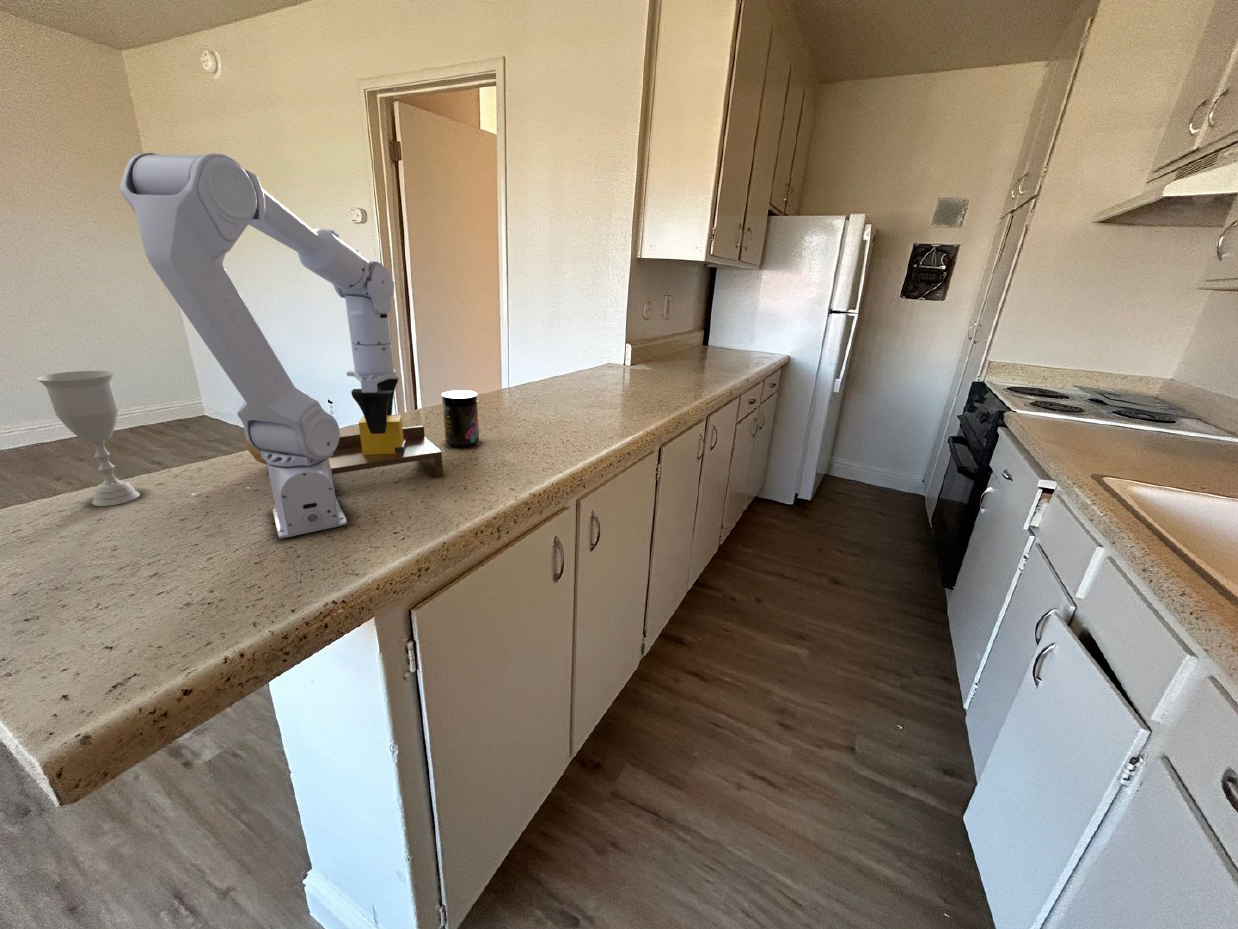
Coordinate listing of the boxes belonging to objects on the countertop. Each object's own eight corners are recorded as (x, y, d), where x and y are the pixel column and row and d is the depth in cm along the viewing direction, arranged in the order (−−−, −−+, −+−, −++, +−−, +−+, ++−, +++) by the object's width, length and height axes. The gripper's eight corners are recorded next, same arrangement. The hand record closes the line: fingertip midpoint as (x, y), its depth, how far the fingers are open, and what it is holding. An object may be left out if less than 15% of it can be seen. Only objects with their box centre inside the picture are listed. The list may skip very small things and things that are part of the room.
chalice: (106, 512, 70) (63, 382, 64) (67, 505, 71) (21, 378, 65) (161, 491, 77) (127, 373, 71) (125, 486, 78) (88, 369, 72)
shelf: (443, 475, 88) (440, 440, 86) (326, 497, 78) (319, 457, 76) (425, 458, 96) (422, 425, 93) (316, 476, 85) (310, 439, 83)
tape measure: (404, 453, 85) (400, 421, 83) (361, 455, 83) (356, 422, 81) (406, 445, 89) (403, 414, 87) (365, 447, 87) (361, 416, 85)
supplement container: (462, 451, 100) (459, 399, 96) (438, 444, 103) (434, 394, 100) (486, 443, 106) (484, 393, 102) (463, 436, 109) (460, 388, 105)
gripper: (351, 336, 85) (362, 415, 90) (332, 349, 72) (346, 440, 77) (397, 337, 87) (405, 414, 92) (387, 349, 74) (396, 438, 79)
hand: (381, 426), depth 84 cm, fingers open, 7 cm apart
